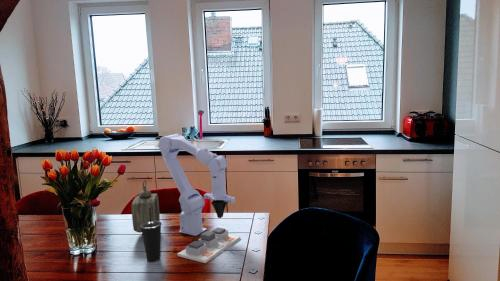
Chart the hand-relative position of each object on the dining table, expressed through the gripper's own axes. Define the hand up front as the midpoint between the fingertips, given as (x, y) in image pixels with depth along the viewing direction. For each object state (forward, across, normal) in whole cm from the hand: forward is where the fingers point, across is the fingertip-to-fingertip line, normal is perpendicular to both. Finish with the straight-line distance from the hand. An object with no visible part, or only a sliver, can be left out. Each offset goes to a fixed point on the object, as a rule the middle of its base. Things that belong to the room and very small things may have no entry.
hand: (220, 217), depth 162 cm
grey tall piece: (+9, -29, -14) cm, 33 cm away
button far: (+7, +1, -3) cm, 8 cm away
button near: (+7, +1, -18) cm, 19 cm away
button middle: (+6, +1, -10) cm, 12 cm away
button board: (+9, +2, -10) cm, 14 cm away
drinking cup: (+9, -10, -28) cm, 32 cm away
